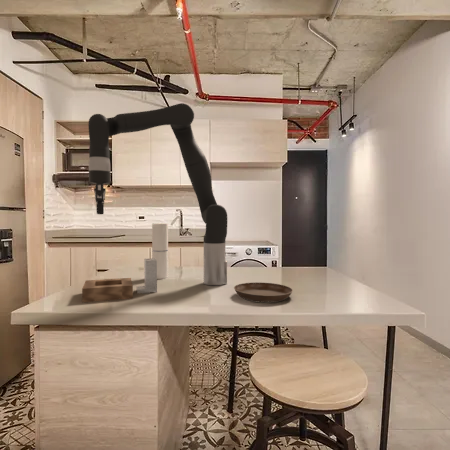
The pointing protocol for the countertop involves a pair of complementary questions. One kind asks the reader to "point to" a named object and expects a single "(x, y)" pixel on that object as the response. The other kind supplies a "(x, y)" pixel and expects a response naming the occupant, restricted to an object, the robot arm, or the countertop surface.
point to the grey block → (149, 276)
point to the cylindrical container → (160, 248)
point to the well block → (107, 289)
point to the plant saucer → (263, 292)
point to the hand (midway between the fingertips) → (100, 214)
